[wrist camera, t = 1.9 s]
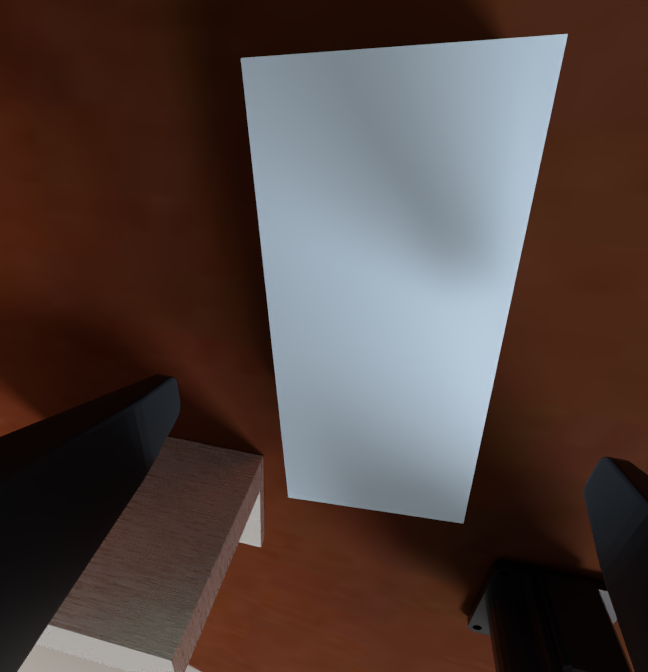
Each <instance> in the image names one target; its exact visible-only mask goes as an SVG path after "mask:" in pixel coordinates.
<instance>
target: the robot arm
mask: <svg viewBox="0 0 648 672" xmlns="http://www.w3.org/2000/svg"><path fill="white" fill-rule="evenodd" d="M180 407H181V406H180V397H179V390H178V383H177V380H176V379H175V378H174V377H172V376H167V375H161V374H157V375H154V376H151V377H149V378H146V379H144V380H141V381H139V382H136V383H134V384H131V385H129V386H126V387H124V388H121V389H119V390H116V391H114V392H111V393H109V394H106V395H104V396H101V397H99V398H96V399H94V400H91V401H89V402H86V403H84V404H81V405H79V406H76V407H74V408H71V409H69V410H66V411H64V412H61V413H59V414H56V415H54V416H51V417H49V418H46V419H44V420H41V421H39V422H36V423H34V424H31V425H29V426H26V427H24V428H21V429H19V430H16V431H14V432H11V433H9V434H6V435H4V436H1V437H0V672H17V671H18V669H19V668H20V666H21V665H22V664H23V662H24V660H25V659H26V658H27V656H28V654H29V653H30V651H31V650H32V648H33V647H34V645H35V644H36V642H37V641H38V639H39V638H40V636H41V635H42V633H43V632H44V630H45V629H46V627H47V626H48V624H49V623H50V621H51V620H52V618H53V617H54V615H55V614H56V612H57V611H58V609H59V608H60V606H61V605H62V603H63V602H64V600H65V599H66V597H67V596H68V594H69V593H70V591H71V589H72V588H73V586H74V585H75V583H76V582H77V580H78V579H79V577H80V576H81V574H82V573H83V571H84V570H85V568H86V567H87V565H88V564H89V562H90V561H91V559H92V558H93V556H94V555H95V553H96V552H97V550H98V549H99V547H100V546H101V544H102V543H103V541H104V540H105V538H106V537H107V535H108V534H109V532H110V531H111V529H112V528H113V526H114V524H115V523H116V521H117V520H118V518H119V517H120V515H121V514H122V512H123V511H124V509H125V508H126V506H127V505H128V503H129V502H130V500H131V499H132V497H133V496H134V494H135V493H136V491H137V490H138V488H139V487H140V485H141V484H142V482H143V481H144V479H145V477H146V476H147V474H148V473H149V471H150V469H151V467H152V465H153V464H154V462H155V460H156V458H157V456H158V454H159V452H160V450H161V448H162V446H163V444H164V443H165V441H166V439H167V437H168V435H169V433H170V431H171V429H172V427H173V425H174V423H175V421H176V420H177V418H178V415H179V413H180ZM584 497H585V502H586V506H587V511H588V515H589V520H590V524H591V529H592V533H593V537H594V542H595V546H596V551H597V555H598V560H599V564H600V567H601V571H602V575H603V578H604V581H605V583H601V582H597V581H592V580H588V579H583V578H579V577H574V576H570V575H566V574H561V573H557V572H552V571H548V570H543V569H539V568H535V567H530V566H526V565H521V564H517V563H512V562H508V561H498V562H495V563H494V565H493V567H492V569H491V571H490V573H489V575H488V577H487V579H486V581H485V583H484V585H483V587H482V589H481V591H480V593H479V595H478V597H477V599H476V602H475V604H474V606H473V608H472V610H471V612H470V614H469V616H468V618H467V621H468V628H469V629H470V630H472V631H474V632H478V633H482V634H486V635H490V637H491V643H492V650H493V656H494V663H495V669H496V672H632V670H631V667H630V665H629V662H628V660H627V657H626V655H625V653H624V650H623V648H622V645H621V643H620V640H619V638H618V635H617V633H616V630H615V628H614V625H613V624H614V623H615V621H616V620H618V623H619V626H620V629H621V632H622V635H623V638H624V641H625V644H626V647H627V650H628V653H629V656H630V659H631V662H632V665H633V668H634V671H635V672H648V475H647V474H646V473H644V472H643V471H642V470H640V469H639V468H638V467H636V466H635V465H634V464H632V463H631V462H629V461H627V460H623V459H618V458H612V457H603V458H602V459H600V460H599V462H598V464H597V465H596V467H595V469H594V470H593V472H592V474H591V476H590V477H589V479H588V481H587V483H586V485H585V488H584Z"/></svg>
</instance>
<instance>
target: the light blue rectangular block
mask: <svg viewBox="0 0 648 672" xmlns="http://www.w3.org/2000/svg"><path fill="white" fill-rule="evenodd" d="M567 36H568V34H561V35H547V36H533V37H520V38H506V39H492V40H479V41H465V42H452V43H438V44H424V45H411V46H397V47H384V48H370V49H356V50H343V51H329V52H315V53H302V54H288V55H275V56H261V57H247V58H241V66H242V76H243V85H244V94H245V103H246V112H247V122H248V131H249V140H250V149H251V158H252V168H253V177H254V186H255V195H256V205H257V214H258V223H259V232H260V241H261V251H262V260H263V269H264V278H265V287H266V297H267V306H268V315H269V324H270V333H271V343H272V352H273V361H274V370H275V379H276V389H277V398H278V407H279V416H280V425H281V435H282V444H283V453H284V462H285V472H286V481H287V490H288V497H289V498H296V499H303V500H309V501H316V502H323V503H329V504H336V505H343V506H349V507H356V508H363V509H369V510H376V511H383V512H389V513H396V514H403V515H409V516H416V517H423V518H429V519H436V520H443V521H449V522H456V523H464V518H465V514H466V509H467V504H468V500H469V495H470V490H471V486H472V481H473V476H474V472H475V467H476V462H477V458H478V453H479V448H480V443H481V439H482V434H483V429H484V425H485V420H486V415H487V411H488V406H489V401H490V397H491V392H492V387H493V383H494V378H495V373H496V368H497V364H498V359H499V354H500V350H501V345H502V340H503V336H504V331H505V326H506V322H507V317H508V312H509V308H510V303H511V298H512V293H513V289H514V284H515V279H516V275H517V270H518V265H519V261H520V256H521V251H522V247H523V242H524V237H525V233H526V228H527V223H528V218H529V214H530V209H531V204H532V200H533V195H534V190H535V186H536V181H537V176H538V172H539V167H540V162H541V158H542V153H543V148H544V143H545V139H546V134H547V129H548V125H549V120H550V115H551V111H552V106H553V101H554V97H555V92H556V87H557V83H558V78H559V73H560V68H561V64H562V59H563V54H564V50H565V45H566V40H567Z"/></svg>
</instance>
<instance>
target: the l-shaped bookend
mask: <svg viewBox="0 0 648 672" xmlns="http://www.w3.org/2000/svg"><path fill="white" fill-rule="evenodd" d="M263 540H264V472H263V456H260V455H255V454H250V453H246V452H241V451H236V450H231V449H226V448H221V447H217V446H212V445H207V444H202V443H197V442H192V441H187V440H183V439H178V438H173V437H167V439H166V441H165V443H164V444H163V446H162V448H161V450H160V452H159V454H158V456H157V458H156V460H155V462H154V464H153V465H152V467H151V469H150V471H149V473H148V474H147V476H146V477H145V479H144V481H143V482H142V484H141V485H140V487H139V488H138V490H137V491H136V493H135V494H134V496H133V497H132V499H131V500H130V502H129V503H128V505H127V506H126V508H125V509H124V511H123V512H122V514H121V515H120V517H119V518H118V520H117V521H116V523H115V524H114V526H113V528H112V529H111V531H110V532H109V534H108V535H107V537H106V538H105V540H104V541H103V543H102V544H101V546H100V547H99V549H98V550H97V552H96V553H95V555H94V556H93V558H92V559H91V561H90V562H89V564H88V565H87V567H86V568H85V570H84V571H83V573H82V574H81V576H80V577H79V579H78V580H77V582H76V583H75V585H74V586H73V588H72V589H71V591H70V593H69V594H68V596H67V597H66V599H65V600H64V602H63V603H62V605H61V606H60V608H59V609H58V611H57V612H56V614H55V615H54V617H53V618H52V620H51V621H50V623H49V624H48V626H47V627H46V629H45V630H44V632H43V633H42V635H41V636H40V638H39V639H38V641H37V642H36V644H38V645H41V646H45V647H48V648H51V649H55V650H58V651H61V652H64V653H68V654H71V655H74V656H77V657H81V658H84V659H87V660H91V661H94V662H97V663H101V664H104V665H107V666H110V667H114V668H117V669H121V670H124V671H127V672H185V670H186V668H187V665H188V663H189V661H190V658H191V656H192V653H193V651H194V648H195V646H196V644H197V641H198V639H199V636H200V634H201V632H202V629H203V627H204V624H205V622H206V620H207V617H208V615H209V612H210V610H211V608H212V605H213V603H214V600H215V598H216V596H217V593H218V591H219V588H220V586H221V584H222V581H223V579H224V576H225V574H226V572H227V569H228V567H229V564H230V562H231V560H232V557H233V555H234V552H235V550H236V548H237V545H238V543H239V542H241V543H245V544H249V545H253V546H257V547H261V546H262V543H263Z"/></svg>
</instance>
